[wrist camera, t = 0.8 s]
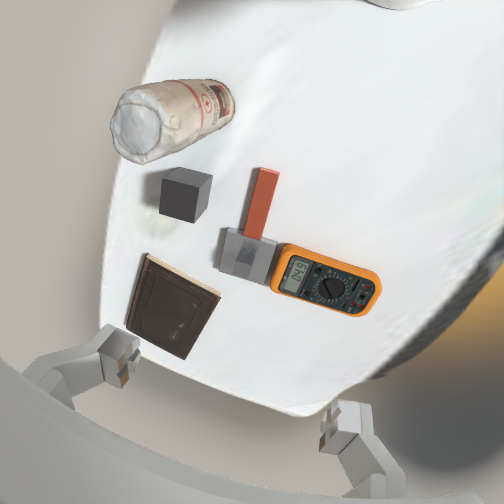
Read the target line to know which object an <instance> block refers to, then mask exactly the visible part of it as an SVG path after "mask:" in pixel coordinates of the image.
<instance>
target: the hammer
mask: <svg viewBox="0 0 504 504" xmlns="http://www.w3.org/2000/svg"><path fill="white" fill-rule="evenodd" d="M279 174H280V172H276V171H273V170H269V169H266V168H262V167H261V168H260V171H259V175H258V179H257V183H256V186H255V190H254V194H253V198H252V202H251V206H250V210H249V214H248V218H247V222H246V226H245V230H244V231H241V230H237V229H234V228H230V227H229V229H228V230H227V234H226V238H225V243H224V248H223V252H222V257H221V262H220V267H219V271H220V272H223V273H226V274H229V275H232V276H236V277H239V278H242V279H246V280H249V281H252V282H255V283H259V284H262V285H264V282H265V279H266V276H267V273H268V270H269V267H270V264H271V261H272V257H273V254H274V251H275V248H276V245H277V241H274V240H271V239H267V238H264V237H262V234H263V230H264V227H265V223H266V220H267V216H268V213H269V209H270V206H271V202H272V199H273V195H274V191H275V188H276V184H277V181H278V177H279Z"/></svg>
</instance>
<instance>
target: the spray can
mask: <svg viewBox="0 0 504 504" xmlns="http://www.w3.org/2000/svg"><path fill="white" fill-rule="evenodd" d="M234 113H235V103H234V99H233V97H232V95H231V93H230V91H229V89H228V88H227V87H226V86H225V85H224V84H223V83H221V82H219V81H216V80H213V79H205V80H203V79H180V80H167V81H163V82H155V83H149V84H145V85H141V86H138V87H134V88H131V89H129V90H127V91H126V92H125V93H124V94H123V95H122V97H121V98H120V100H119V102H118V105H117V107H116V109H115V112H114V115H113V117H112V120H111V123H110V130H111V132H112V136H113V144H114V147H115V149H116V151H117V152H118V153H119V154H121V155H122V156H123V157H124V158H125V159H127V160H129V161H131V162H134V163H136V164H140V165H144V164H147V163H149V162H152V161H155V160H157V159H160V158H162V157H164V156H167V155H169V154H173V153H176V152H179V151H181V150H183V149H185V148H186V147H188V146H190V145H191V144H193V143H195V142H197V141H198V140H201V139H202V138H204V137H205V136H207V135H209V134H211V133H213V132H215V131H216V130H219V129H221V128H222V127H224V126H225V125H226V124H227V123H228V122H230V121H231V120H232V118H233V116H234Z"/></svg>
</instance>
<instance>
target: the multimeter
mask: <svg viewBox="0 0 504 504" xmlns="http://www.w3.org/2000/svg"><path fill="white" fill-rule="evenodd" d="M270 288H271V290H272V291H273V292H275V293H279V294H282V295H286V296H289V297H293V298H296V299H300V300H303V301H306V302H309V303H312V304H315V305H319V306H322V307H325V308H328V309H331V310H334V311H337V312H340V313H343V314H346V315H349V316H353V317H360V316H363V315H365V314H367V313H368V312H369V311H370V310H371V308H372V307H373V305H374V304H375V302H376V301H377V299H378V297H379V296H380V294H381V292H382V285H381V281H380V279H379V277H378V276H377V274H376V273H374V272H372V271H368V270H365V269H362V268H359V267H356V266H353V265H349V264H346V263H343V262H340V261H337V260H334V259H332V258H329V257H326V256H323V255H320V254H317V253H314V252H312V251H309V250H306V249H304V248H301V247H298V246H296V245H293V244H288V245H286V246H284V248H283V249H282V252H281V254H280V257H279V260H278V262H277V265H276V268H275V270H274V273H273V275H272V278H271V282H270Z"/></svg>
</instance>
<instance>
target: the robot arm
mask: <svg viewBox="0 0 504 504" xmlns="http://www.w3.org/2000/svg"><path fill="white" fill-rule="evenodd" d="M367 1H369V2H371V3H374V4H376V5H379V6H382V7H385V8H389V9H395V10H408V9H413V8H416V7H419V6H421V5H422V4H424V3H426V2H428V1H441V0H367ZM139 345H140V339H139V338H138V337H136V336H134V335H131V334H129V333H127V332H125V331H123V330H121V329H119V328H116V327H114V326H112V325H110V324H107V325H105V326H104V327H103V328H102V329H101V330H100V331H99V332H98V333H97V334H96V335H95V336H94V338H93V339H92V340H91V341H90V342H89V343H88V344H87V345H86V346H85V345H79V346H76V347H72V348H69V349H65V350H62V351H58V352H54V353H51V354H47V355H44V356H40V357H38V358H37V359H36V360H35V361H34V362H33V363H32V364H31V365H30V366H29V367H28V368H27V369H26V370H25V371H24V372H23V373H22V374H20V373H19V372H18V371H17V370H15V369H14V368H13V367H12V366H10V365H9V364H8V363H7V362H6V361H4V360H3V359H2V358H1V357H0V504H484V503H483V501H482V500H481V499H480V498H479V497H478V496H477V495H476V494H475V493H474V492H463V493H456V494H449V495H441V496H432V497H421V498H407V497H406V482H405V473H404V472H403V471H402V469H401V468H400V467H399V465H398V464H397V463H396V461H395V460H394V459H393V457H392V456H391V455H390V453H389V452H388V451H387V449H386V448H385V447H384V446H383V444H382V443H381V441H380V440H379V439H378V438H377V436H374V434H373V421H372V410H371V406H370V404H363V403H358V402H353V401H347V400H342V399H337V398H336V399H335V400H334V401H333V402H332V404H331V408H330V409H328V410H327V411H326V412H325V414H324V416H323V419H322V422H321V432H322V433H323V435H322V437H321V438H320V444H319V452H322V453H328V454H333V455H338V458H339V460H340V462H341V464H342V466H343V468H344V470H345V472H346V474H347V476H348V478H349V480H350V482H351V484H352V486H353V489H352V490H350V491H349V492H348V493H346V494H345V495H343V496H342V497H331V496H322V495H313V494H306V493H298V492H292V491H286V490H281V489H276V488H271V487H266V486H261V485H257V484H252V483H248V482H244V481H240V480H236V479H232V478H229V477H225V476H221V475H218V474H215V473H212V472H209V471H205V470H202V469H199V468H196V467H193V466H190V465H188V464H185V463H182V462H179V461H177V460H174V459H171V458H169V457H166V456H164V455H161V454H159V453H156V452H154V451H152V450H149V449H147V448H145V447H143V446H140V445H138V444H136V443H134V442H132V441H129V440H127V439H125V438H123V437H121V436H119V435H117V434H115V433H113V432H111V431H109V430H108V429H105V428H104V427H102V426H100V425H98V424H96V423H95V422H93V421H91V420H89V419H88V418H86V417H84V416H82V415H81V414H79V413H77V412H76V411H75V407H74V404H73V402H72V399H71V398H72V397H74V396H76V395H78V394H80V393H83V392H85V391H87V390H89V389H91V388H93V387H95V386H98V385H100V384H102V383H104V381H105V382H107V383H109V384H111V385H113V386H116V387H118V388H120V389H122V388H123V386H124V385H125V383H126V382H127V381H128V379H129V375H128V374H129V373H131V372H134V371H135V369H136V368H137V366H138V363H139V361H140V351H139V349H138V347H139Z"/></svg>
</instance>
